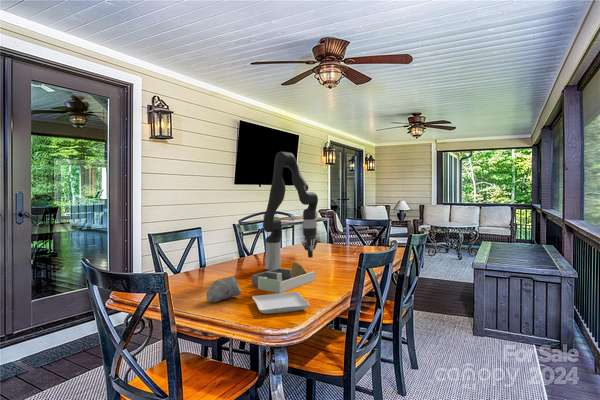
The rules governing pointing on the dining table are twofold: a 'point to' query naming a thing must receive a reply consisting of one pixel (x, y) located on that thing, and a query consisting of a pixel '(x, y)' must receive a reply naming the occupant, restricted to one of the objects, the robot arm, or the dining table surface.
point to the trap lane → (280, 280)
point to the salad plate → (280, 302)
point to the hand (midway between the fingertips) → (310, 257)
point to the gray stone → (223, 289)
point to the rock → (297, 270)
